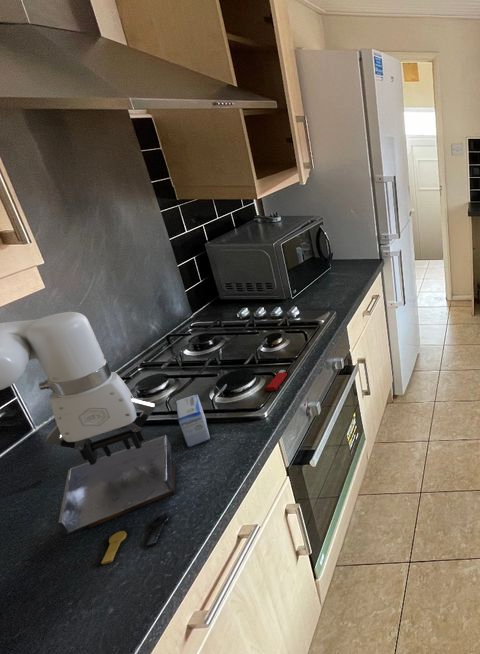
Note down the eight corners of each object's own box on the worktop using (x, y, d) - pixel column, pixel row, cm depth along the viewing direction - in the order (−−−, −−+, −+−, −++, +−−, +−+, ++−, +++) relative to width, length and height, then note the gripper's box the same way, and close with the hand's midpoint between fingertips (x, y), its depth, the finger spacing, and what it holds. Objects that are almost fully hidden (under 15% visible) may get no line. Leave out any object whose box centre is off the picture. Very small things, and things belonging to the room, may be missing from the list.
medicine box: (185, 428, 102) (174, 400, 99) (206, 420, 105) (197, 393, 102) (188, 448, 97) (177, 419, 94) (211, 439, 100) (200, 410, 96)
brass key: (98, 566, 73) (97, 564, 72) (112, 535, 78) (111, 533, 78) (115, 560, 74) (114, 558, 73) (128, 530, 79) (127, 528, 78)
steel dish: (66, 534, 73) (46, 507, 69) (76, 477, 82) (59, 451, 78) (172, 491, 81) (159, 465, 77) (170, 443, 90) (159, 418, 86)
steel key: (143, 548, 76) (142, 546, 75) (155, 519, 81) (155, 517, 81) (159, 543, 76) (158, 541, 76) (170, 515, 82) (170, 513, 81)
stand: (89, 528, 79) (78, 510, 77) (94, 500, 84) (85, 483, 82) (174, 493, 86) (167, 475, 84) (174, 469, 91) (167, 452, 89)
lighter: (265, 387, 115) (279, 369, 123) (266, 390, 116) (280, 373, 123) (275, 387, 115) (288, 369, 123) (276, 390, 116) (289, 373, 123)
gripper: (5, 408, 68) (52, 486, 75) (141, 371, 77) (171, 444, 84) (19, 384, 74) (61, 459, 81) (144, 352, 83) (172, 422, 90)
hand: (117, 451), depth 83 cm, fingers closed on steel dish, 6 cm apart
